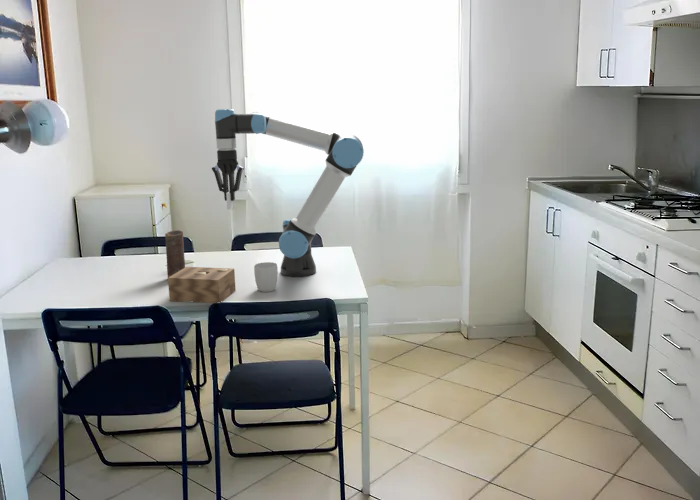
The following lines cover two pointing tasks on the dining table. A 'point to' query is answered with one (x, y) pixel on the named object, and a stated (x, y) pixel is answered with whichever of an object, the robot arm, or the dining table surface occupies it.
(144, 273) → the dining table surface
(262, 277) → the mug
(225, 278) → the socket block
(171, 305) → the dining table surface
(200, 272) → the beech dowel
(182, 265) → the brown cylindrical vase
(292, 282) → the dining table surface
